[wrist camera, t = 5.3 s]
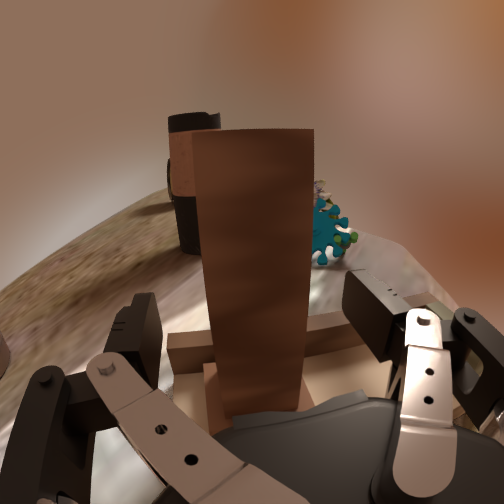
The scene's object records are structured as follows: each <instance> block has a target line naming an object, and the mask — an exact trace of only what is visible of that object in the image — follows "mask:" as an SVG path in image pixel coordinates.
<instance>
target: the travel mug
mask: <svg viewBox="0 0 504 504" xmlns="http://www.w3.org/2000/svg"><path fill="white" fill-rule="evenodd" d="M220 123H221V122H220V113H218V114H213V115H209V114H208V113H206V112H195V113H184V114H178V115H173V116H169V117H168V130H169V148H170V165H171V178H172V190H173V199H174V206H175V214H176V221H177V227H178V234H179V240H180V246H181V249H182V251H183V252H185V253H188V254H195V255H201V246H200V237H199V226H198V216H197V204H196V193H195V180H194V166H193V151H192V133H194V132H206V131H220V130H221V124H220Z"/></svg>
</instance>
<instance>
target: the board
mask: <svg viewBox="0 0 504 504" xmlns="http://www.w3.org/2000/svg"><path fill="white" fill-rule="evenodd" d="M402 299H403V300H404V301H405V302H407V303H408V304H409V305H410V306H411V307H412V308H413V309H426V310H429V311H431V312H433V313H435V314H436V315H437V316H438V317H439V319H440V320H452V319H453V316H454V313H453V312H452V311H451V310H450V309H448V308H447V307H446V306H445V305H444V304H443V303H441V302H440V301H439V300H438V299H436V298H435V297H434V296H433V295H432V294H430V293H429V292H425V293H421V294H417V295H413V296H409V297H404V298H402ZM166 349H167V353H168V356H169V360H170V364H171V367H172V370H173V374H174V383H173V402H174V403H175V404H176V405H177V406H178V407H179V408H180V409H181V410H182V411H183V412H184V413H185V414H186V415H187V416H188V417H189V418H191V419H192V420H193V421H194V422H195V423H196V424H197V425H198V426H199V427H201V428H202V429H203V430H204V431H205V432H206V433H208V434H209V427H208V417H207V406H206V395H205V382H204V368H203V364H205V363H215V362H216V361H215V355H214V348H213V342H212V335H211V330H203V331H192V332H181V333H168V337H167V348H166ZM467 362H468V363H469V364H470V366H471V367H472V368H473V369H474V370H475V371H476V373H477V374H478V375H479V376H481V373H482V371H483V363H482V361H481V360H480V358H479V357H478V356H477V355H476V354H475V353H474V352H473V351H472V350H471V352H470V354H469V356H468V359H467ZM391 365H392V361H391V360H389V361H386V362H383V363H379V362H378V360H377V359H376V357H375V356H374V355H373V353H372V352H371V351H370V349H369V348H368V346H367V345H366V344H365V342H364V341H363V340H362V338H361V337H360V336H359V334H358V333H357V332H356V330H355V329H354V328H353V326H352V325H351V324H350V322H349V321H348V320H347V318H346V317H345V315H344V313H343V310H342V311H337V312H332V313H326V314H320V315H314V316H308V319H307V331H306V342H305V352H304V362H303V371H302V377H303V379H304V381H305V384H306V386H307V388H308V391H309V393H310V395H311V397H312V400H313V402H314V404H315V406H317V405H319V404H321V403H323V402H325V401H327V400H329V399H331V398H333V397H336V396H339V395H343V394H347V393H350V392H354V391H357V390H360V389H363V391H364V392H365V394H366V396H367V397H380V398H385V393H386V388H387V383H388V378H389V372H390V367H391ZM452 397H453V418H452V420H454V419H456V418H457V417H459V416H461V415H462V414H464V413H465V411H464V409H463V408H462V406H461V405H460V404H459V402H458V401H457V399H456V398H455V397H454V395H453V394H452ZM209 435H210V434H209Z"/></svg>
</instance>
